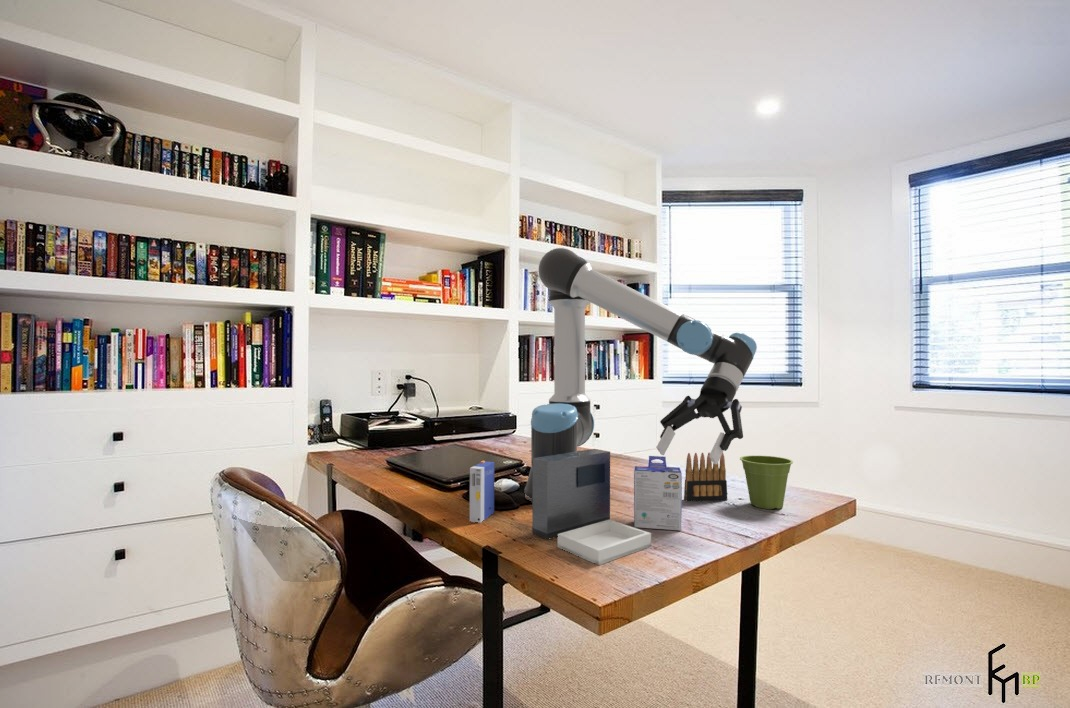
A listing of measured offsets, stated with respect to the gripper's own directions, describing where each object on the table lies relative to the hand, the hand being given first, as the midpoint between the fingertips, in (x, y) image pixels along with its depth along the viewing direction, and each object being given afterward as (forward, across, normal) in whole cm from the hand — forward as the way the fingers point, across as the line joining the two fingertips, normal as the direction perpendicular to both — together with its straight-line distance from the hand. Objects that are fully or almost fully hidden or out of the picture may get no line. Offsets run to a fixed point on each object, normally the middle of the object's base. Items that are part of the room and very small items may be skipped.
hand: (685, 455), depth 113 cm
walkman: (+34, +29, +15) cm, 47 cm away
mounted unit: (+26, +11, +7) cm, 30 cm away
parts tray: (+29, 0, +9) cm, 30 cm away
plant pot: (-7, -6, -27) cm, 29 cm away
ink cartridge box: (+16, +1, -4) cm, 17 cm away
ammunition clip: (-2, +6, -22) cm, 23 cm away
